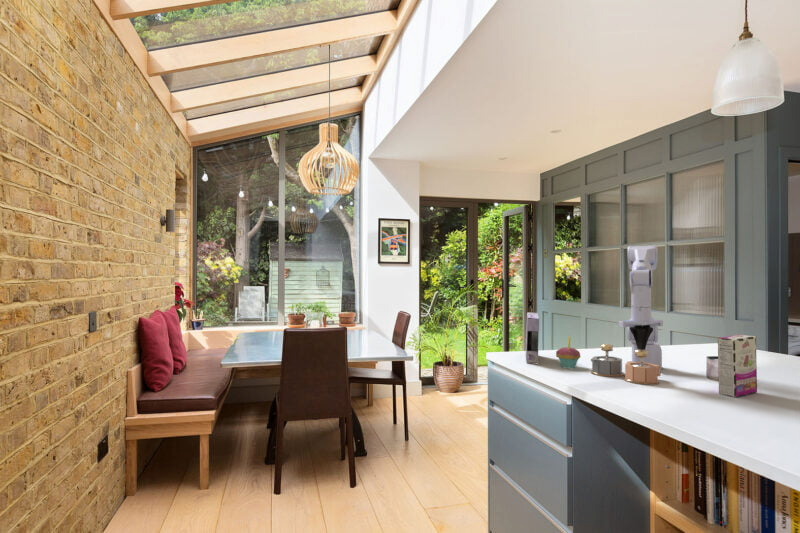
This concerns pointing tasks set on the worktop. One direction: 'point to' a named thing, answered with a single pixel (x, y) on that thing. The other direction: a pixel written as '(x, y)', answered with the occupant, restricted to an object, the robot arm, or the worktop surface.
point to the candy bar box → (737, 365)
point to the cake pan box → (532, 337)
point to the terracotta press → (642, 373)
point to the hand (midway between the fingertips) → (641, 349)
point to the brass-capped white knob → (641, 357)
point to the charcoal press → (607, 366)
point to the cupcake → (568, 356)
